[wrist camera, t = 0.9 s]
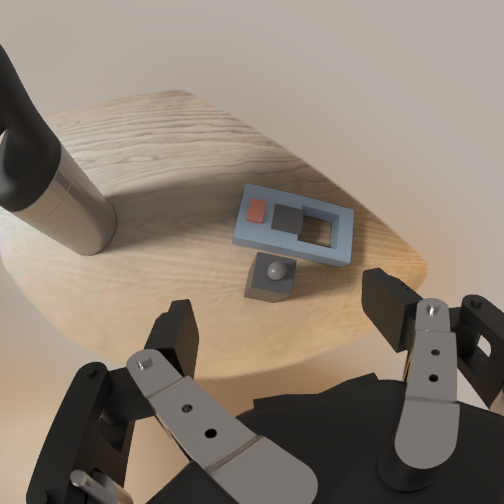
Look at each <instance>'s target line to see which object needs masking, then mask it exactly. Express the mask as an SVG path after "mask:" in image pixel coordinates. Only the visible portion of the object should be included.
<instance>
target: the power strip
mask: <svg viewBox="0 0 504 504" xmlns="http://www.w3.org/2000/svg"><path fill="white" fill-rule="evenodd" d="M303 215H305V216H309V217H313V218H317V219H321V220H325V221H329V222H332V231H331V240H330V248H327V247H323V246H319V245H315V244H310V243H306V242H302V241H297V239H298V235H301V230H302V223H303ZM353 220H354V210H352V209H348V208H345V207H341V206H338V205H334V204H331V203H327V202H323V201H320V200H316V199H312V198H308V197H304V196H300V195H296V194H292V193H288V192H284V191H280V190H276V189H271V188H267V187H262V186H258V185H253V184H249V183H246V184H245V188H244V192H243V196H242V201H241V205H240V209H239V213H238V217H237V222H236V226H235V230H234V235H233V242H232V244H237V245H241V246H246V247H250V248H255V249H259V250H264V251H269V252H273V253H278V254H282V255H287V256H291V257H296V258H301V259H305V260H310V261H314V262H319V263H323V264H328V265H332V266H337V267H341V268H342V267H343V266H345V265H347V264H349V263H350V260H351V248H352V236H353Z"/></svg>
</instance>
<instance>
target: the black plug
mask: <svg viewBox="0 0 504 504" xmlns="http://www.w3.org/2000/svg"><path fill="white" fill-rule="evenodd" d="M296 261H297V260H294V259H289V258H285V257H280V256H276V255H271V254H266V253H262V252H257V255H256V257H255V259H254V261H253V263H252V266H251V268H250V270H249V274H248V279H247V284H246V289H245V294H244V297H246V298H251V299H256V300H261V301H266V302H271V303H274V302H277V301H279V300H281V299H283V298H286V297H288V296H290V295H291V292H292V286H293V280H294V274H295V268H296Z"/></svg>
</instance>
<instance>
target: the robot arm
mask: <svg viewBox="0 0 504 504" xmlns="http://www.w3.org/2000/svg"><path fill="white" fill-rule="evenodd" d="M4 131H5V133H4V136H3V139H2V142H1V144H0V206H1V207H3V208H4V209H6V210H7V211H9V212H10V213H12V214H13V215H15V216H16V217H18V218H19V219H21V220H23V221H24V222H26V223H28V224H29V225H31V226H32V227H34V228H35V229H37V230H39V231H40V232H42V233H44V234H45V235H47V236H49V237H50V238H52V239H54V240H55V241H57V242H59V243H60V244H62V245H64V246H65V247H67V248H69V249H71V250H72V251H74V252H76V253H78V254H81V255H93V254H95V253H97V252H99V251H101V250H102V249H103V248H104V247H105V246H106V245H107V244H108V243H109V241H110V240H111V238H112V236H113V234H114V231H115V227H116V215H115V212H114V209H113V207H112V206H111V205H110V203H109V202H108V201H107V200H106V199H105V198H104V196H103V195H102V194H101V193H100V191H99V190H98V189H97V188H96V187H95V185H94V184H93V183H92V182H91V181H90V179H89V178H88V177H87V176H86V174H85V173H84V172H83V171H82V169H81V168H80V167H79V166H78V164H77V163H76V162H75V161H74V159H73V158H72V157H71V156H70V154H69V153H68V152H67V150H66V149H65V148H64V146H63V145H62V144H61V142H60V141H59V140H58V138H57V137H56V136H55V134H54V133H53V132H52V130H51V129H50V128H49V126H48V125H47V124H46V123H45V121H44V120H43V118H42V117H41V116H40V114H39V113H38V111H37V110H36V108H35V107H34V105H33V103H32V101H31V99H30V98H29V96H28V94H27V92H26V90H25V88H24V87H23V85H22V83H21V81H20V79H19V77H18V74H17V73H16V70H15V68H14V67H13V65H12V63H11V61H10V59H9V57H8V55H7V54H6V52H5V50H4V49H3V47H2V46H1V45H0V135H1V134H2V133H3V132H4ZM362 308H363V310H364V312H365V314H366V315H367V316H368V317H369V319H370V320H371V321H372V322H373V324H374V325H375V326H376V327H377V329H378V330H379V331H380V332H381V334H382V335H383V336H384V338H385V339H386V340H387V341H388V343H389V344H390V345H391V346H392V348H393V349H394V350H395V352H396V353H399V352H401V351H404V350H407V351H408V353H407V357H406V362H405V367H404V373H403V377H402V381H397V380H378V378H377V376H376V375H375V373H370V374H367V375H364V376H360V377H357V378H354V379H350V380H347V381H345V382H343V383H341V384H339V385H337V386H335V387H332V388H330V389H328V390H326V391H324V392H322V393H319V394H297V395H296V394H294V395H293V394H289V395H288V394H285V395H278V396H272V397H266V398H260V399H254V400H253V402H254V408H253V409H250V410H248V411H245V412H243V413H241V414H239V415H238V416H236V417H233V416H232V415H231V414H230V413H229V412H228V411H227V410H226V409H224V408H223V407H222V406H221V405H220V404H219V403H218V402H217V401H215V400H214V399H213V398H212V397H211V396H210V395H209V394H208V393H207V392H206V391H204V390H203V389H202V388H201V387H200V386H199V385H198V384H197V383H196V382H195V381H194V380H193V379H194V372H195V365H196V358H197V351H198V345H199V333H198V328H197V324H196V321H195V317H194V313H193V310H192V306H191V303H190V300H189V299H185V300H177V301H172V303H171V306H170V308H169V311H168V312H166V313H162V314H161V315H160V316H159V317H158V318H157V319H156V321H155V323H154V325H153V328H152V330H151V333H150V335H149V337H148V340H147V342H146V344H145V347H144V349H143V350H141V351H139V352H136V353H135V354H133V355H132V356H131V357H130V358H129V359H128V361H127V364H126V367H124V368H120V369H116V370H112V371H108V369H107V367H106V366H105V365H104V364H103V363H101V362H91V363H88V364H86V365H84V366H83V367H81V368H80V369H79V370H78V371H77V373H76V375H75V377H74V379H73V381H72V383H71V385H70V387H69V389H68V391H67V393H66V395H65V397H64V399H63V401H62V403H61V405H60V408H59V410H58V412H57V414H56V416H55V418H54V421H53V423H52V425H51V428H50V430H49V432H48V435H47V437H46V440H45V442H44V445H43V447H42V450H41V452H40V455H39V458H38V460H37V463H36V466H35V469H34V472H33V475H32V478H31V481H30V484H29V487H28V491H27V494H26V503H27V504H133V500H132V498H131V496H130V494H129V493H128V492H127V491H126V490H124V489H123V488H124V481H125V475H126V469H127V462H128V456H129V451H130V446H131V441H132V435H133V430H134V425H135V421H136V420H139V419H143V418H147V417H151V416H154V417H155V418H156V420H157V421H158V423H159V424H160V425H161V427H162V428H163V429H164V431H165V432H166V433H167V435H168V436H169V437H170V439H171V440H172V441H173V442H174V444H175V445H176V446H177V448H178V449H179V450H180V452H181V453H182V454H183V456H184V457H185V458H186V459H187V460H188V462H189V463H188V464H187V465H186V466H185V467H184V468H183V469H182V470H181V471H180V472H179V473H178V474H177V475H176V476H175V477H174V478H173V479H172V480H171V481H170V482H169V483H168V484H167V485H166V486H164V487H163V488H162V489H161V490H160V491H159V492H158V493H157V494H156V495H155V496H153V497H152V498H151V499H150V500H149V501H148V502H147V503H145V504H504V313H503V312H502V311H501V310H499V309H498V308H497V307H496V306H494V305H493V304H492V303H491V302H489V301H488V300H487V299H485V298H483V297H482V296H479V295H467V296H465V297H464V298H463V300H462V305H461V307H456V308H448V306H447V304H445V302H443V301H441V300H438V299H433V298H428V299H423V298H422V297H421V296H419V295H418V294H417V293H416V292H415V291H413V290H412V289H410V287H408V286H407V285H405V283H403V282H402V281H401V280H400V279H398V278H395V277H393V276H390V275H388V274H387V273H385V272H384V271H383V270H382V269H380V268H374V269H369V270H365V271H364V272H363V276H362ZM481 335H482V336H483V337H484V338H485V339H486V340H487V341H488V342H489V343H490V346H491V354H490V356H489V357H488V356H487V355H486V354H485V353H484V352H483V351H482V350H481V349H480V348H479V347H478V346H477V345H478V342H479V339H480V336H481ZM457 368H458V369H459V370H460V372H461V373H462V374H463V375H464V377H465V378H466V379H467V380H468V382H469V383H470V384H471V386H472V387H473V388H474V390H475V391H476V392H477V394H478V395H479V396H480V398H481V399H482V400H483V402H484V403H485V405H486V406H487V407H488V409H489V410H490V411H488V410H485V409H481V408H478V407H475V406H471V405H469V404H466V403H463V402H459V401H457V399H456V398H457ZM100 416H101V417H100ZM99 419H100V420H99Z"/></svg>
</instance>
